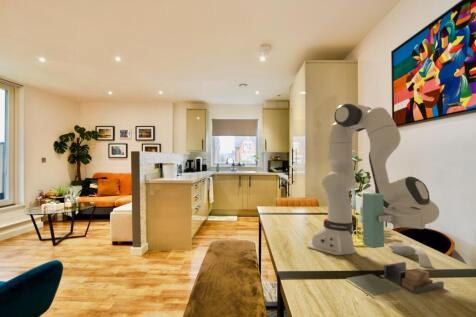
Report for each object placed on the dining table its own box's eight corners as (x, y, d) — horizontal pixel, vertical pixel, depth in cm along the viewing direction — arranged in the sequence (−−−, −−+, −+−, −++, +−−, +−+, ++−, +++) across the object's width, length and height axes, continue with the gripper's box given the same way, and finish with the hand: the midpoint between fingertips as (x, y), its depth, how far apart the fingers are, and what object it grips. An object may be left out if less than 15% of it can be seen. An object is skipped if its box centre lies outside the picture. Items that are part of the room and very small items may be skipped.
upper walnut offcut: (416, 283, 79) (416, 275, 79) (405, 278, 82) (405, 271, 82) (428, 279, 82) (428, 272, 82) (417, 275, 85) (417, 268, 85)
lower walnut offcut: (413, 291, 79) (413, 283, 79) (401, 285, 83) (401, 278, 83) (432, 287, 82) (432, 280, 82) (420, 281, 85) (420, 274, 86)
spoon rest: (383, 248, 122) (383, 234, 122) (408, 249, 121) (408, 235, 121) (411, 269, 99) (411, 251, 99) (442, 270, 97) (442, 253, 98)
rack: (415, 297, 77) (415, 281, 77) (379, 278, 90) (379, 264, 90) (443, 291, 81) (443, 276, 81) (404, 273, 94) (404, 260, 94)
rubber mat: (374, 298, 76) (374, 295, 76) (346, 280, 88) (346, 278, 88) (402, 292, 80) (402, 289, 80) (371, 276, 91) (371, 273, 91)
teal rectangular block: (372, 248, 81) (372, 194, 82) (363, 244, 85) (362, 193, 86) (384, 246, 83) (383, 194, 83) (374, 243, 87) (373, 192, 87)
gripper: (376, 201, 98) (348, 203, 94) (429, 210, 79) (398, 213, 74) (376, 217, 98) (348, 219, 94) (429, 230, 79) (398, 234, 74)
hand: (371, 216), depth 84 cm, fingers closed on teal rectangular block, 4 cm apart
